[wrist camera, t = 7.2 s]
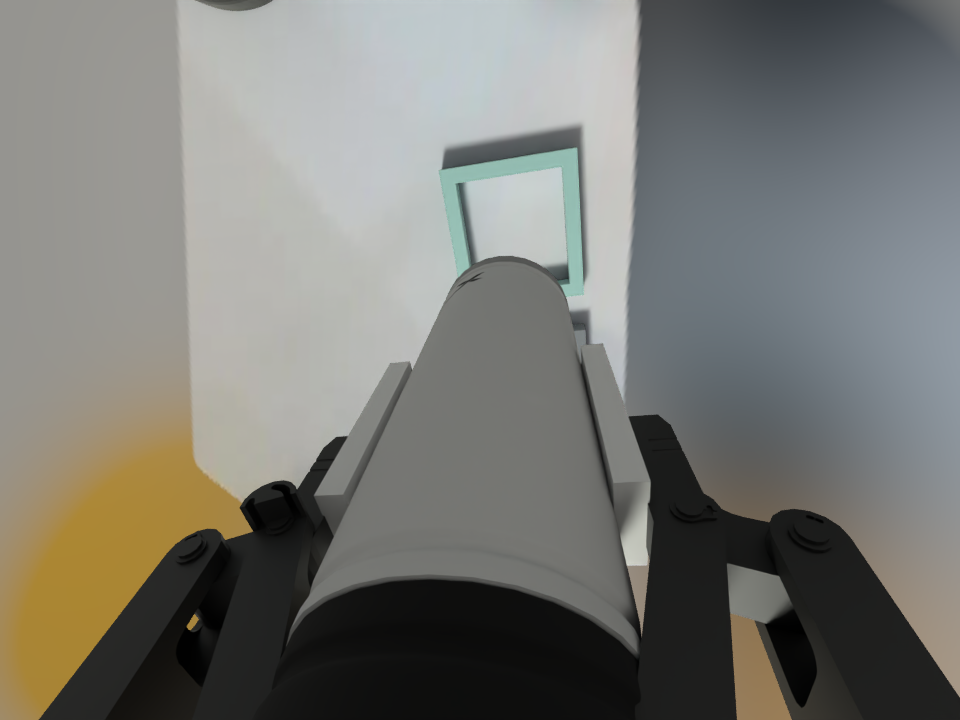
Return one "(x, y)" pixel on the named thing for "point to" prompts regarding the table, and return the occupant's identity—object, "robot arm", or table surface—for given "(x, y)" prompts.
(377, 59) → the table surface
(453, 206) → the frame
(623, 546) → the robot arm
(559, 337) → the travel mug
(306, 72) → the table surface
